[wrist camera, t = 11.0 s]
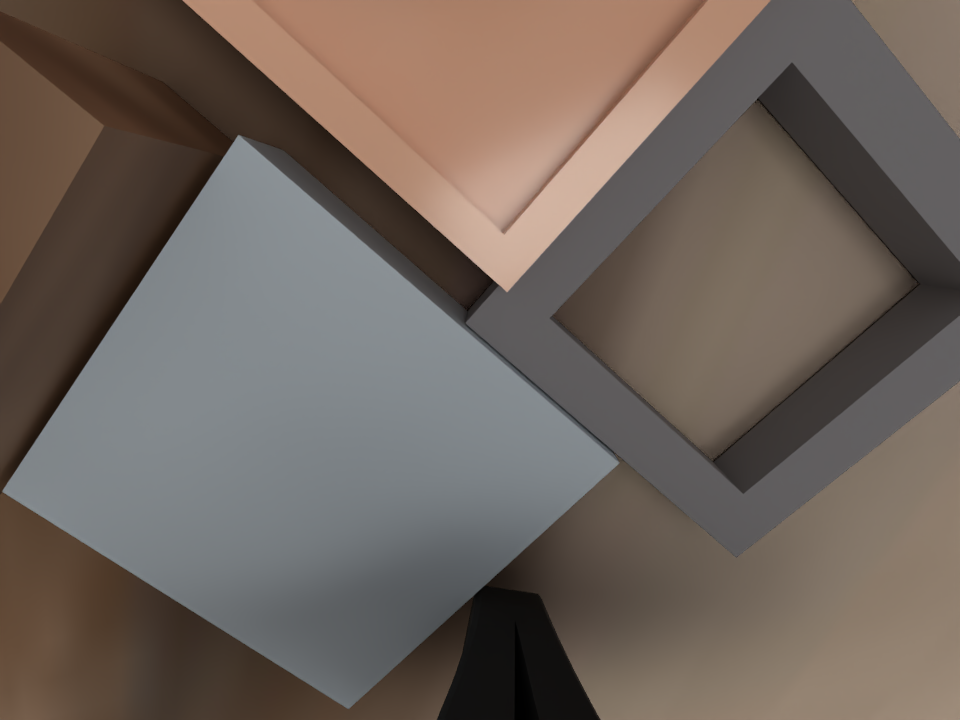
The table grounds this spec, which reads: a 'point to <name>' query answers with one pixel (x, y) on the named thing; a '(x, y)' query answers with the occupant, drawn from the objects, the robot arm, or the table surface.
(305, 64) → the tray
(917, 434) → the table surface
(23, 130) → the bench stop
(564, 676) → the robot arm
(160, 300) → the plate
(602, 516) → the table surface
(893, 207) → the socket
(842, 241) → the table surface
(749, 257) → the table surface
